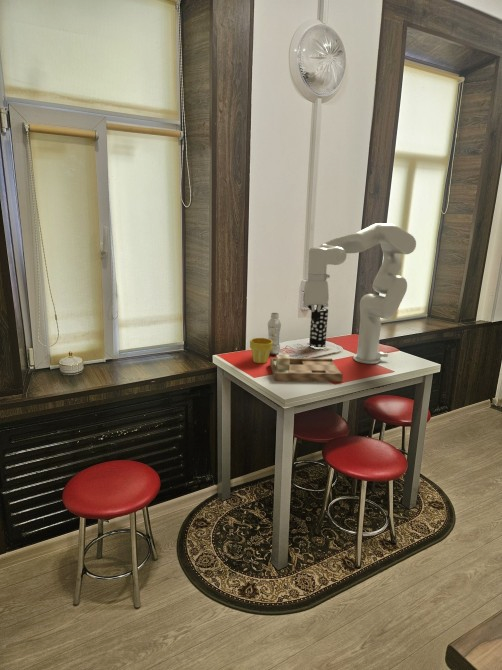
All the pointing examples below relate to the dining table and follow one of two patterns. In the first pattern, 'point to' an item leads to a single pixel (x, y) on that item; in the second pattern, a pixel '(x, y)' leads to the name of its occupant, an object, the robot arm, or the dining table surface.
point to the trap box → (307, 370)
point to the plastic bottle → (274, 332)
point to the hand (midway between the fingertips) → (314, 320)
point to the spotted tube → (319, 329)
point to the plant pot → (260, 349)
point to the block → (282, 362)
